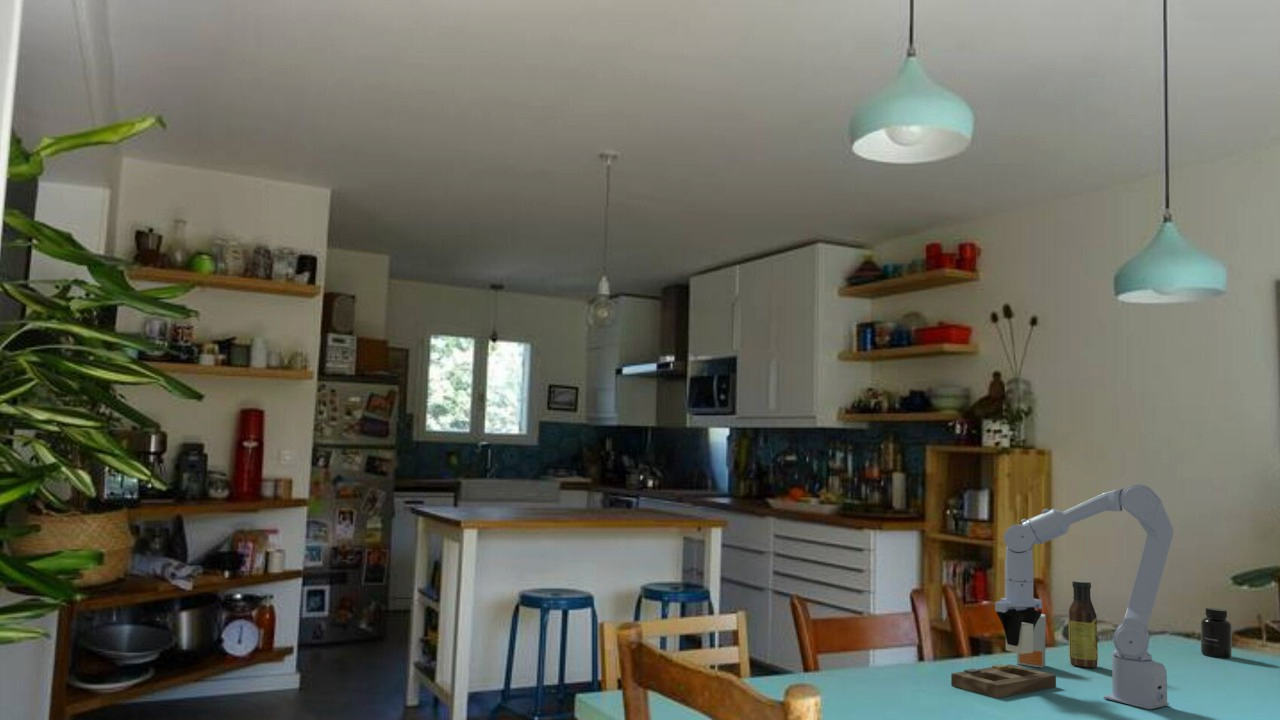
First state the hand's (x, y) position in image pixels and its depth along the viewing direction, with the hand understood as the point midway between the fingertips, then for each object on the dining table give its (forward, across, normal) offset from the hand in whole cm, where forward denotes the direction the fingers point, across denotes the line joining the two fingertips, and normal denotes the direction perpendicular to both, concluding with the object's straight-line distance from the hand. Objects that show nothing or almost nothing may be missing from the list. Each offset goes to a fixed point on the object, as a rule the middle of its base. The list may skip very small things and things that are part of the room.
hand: (1018, 644), depth 201 cm
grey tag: (+6, +10, -5) cm, 12 cm away
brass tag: (+6, 0, -5) cm, 8 cm away
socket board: (+8, +5, 0) cm, 10 cm away
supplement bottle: (+9, -81, +5) cm, 82 cm away
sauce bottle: (+9, -33, -4) cm, 35 cm away
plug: (+2, 0, 0) cm, 2 cm away
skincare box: (+9, -21, -10) cm, 25 cm away
